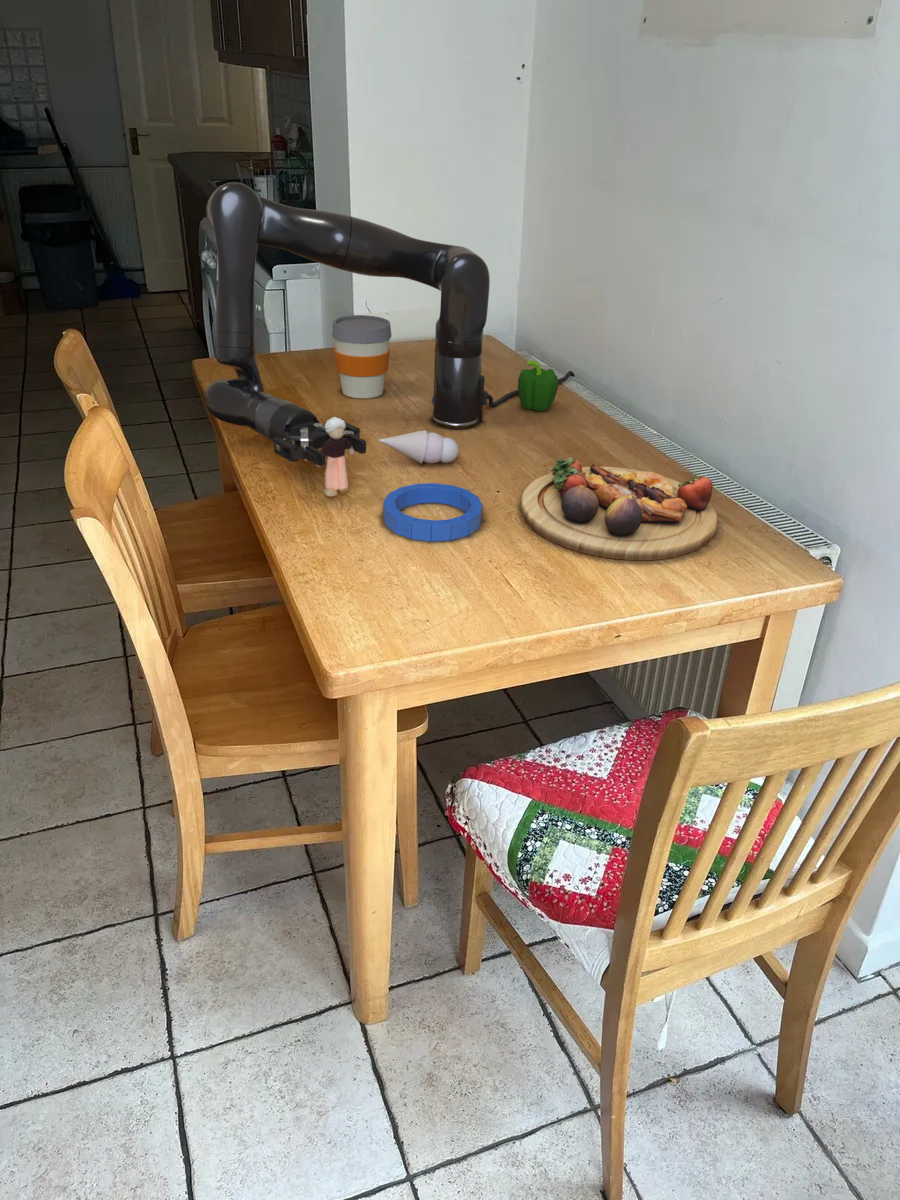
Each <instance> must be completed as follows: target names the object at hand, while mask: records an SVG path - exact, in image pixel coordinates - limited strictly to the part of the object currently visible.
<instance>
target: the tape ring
mask: <svg viewBox="0 0 900 1200" xmlns="http://www.w3.org/2000/svg"><path fill="white" fill-rule="evenodd" d="M419 504H440V505H448V506H451V507H454V508H457V509H459V510H461V511H462V512H464V513H463V514H461V515H459V516H455V517H452V518H448V519H425V518H418V517H414V516H411V515H408V514H405V513H404V512H402V510H403V509H405V508H407V507H410V506H413V505H414V506H415V505H419ZM382 505H383V506H382V510H383V511H382V512H383V513H382V516H383V521H384V525H385V527H387V528H388V529H389V530H391V531H392V532H393V533H394V534H396V535H399V536H401V537H404V538H407V539H409V540H416V541H422V542H433V543H434V542H450V541H454V540H455V541H456V540H459V539H462V538H465V537H469V536H470V535H472V534H473V533H475V532H476V531H478V530H479V529H480V526H481V524H482V521H483V507H484V506H483V502H482V501H481V499H480V497H479V496H478V495H476V494H475V493H474V492H472V491H470V490H469V489H466V488H463V487H459V486H456V485H453V484H445V483H437V482H429V483H428V482H426V483H413V484H410V485H403V486H400V487H397V489H394V490H393V491H391V492H389V493H387V495H386V497H385V498H384V499H383V502H382Z"/></svg>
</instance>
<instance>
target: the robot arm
mask: <svg viewBox="0 0 900 1200" xmlns="http://www.w3.org/2000/svg"><path fill="white" fill-rule="evenodd" d="M205 210H206V211H205V214H206V219H207V221H208V224H209V226H210V228H211V229H212V231H213V234H214V240H215V246H216V254H217V286H216V287H217V289H216V299H215V311H214V345H215V346H214V351H215V352H214V355H215V360H216V361H217V362H218V363H219V364H221V365H224V366H227V367H232V368H234V370H235V372H236V375H237V378H234V379H233V378H232V379H231V378H229V379H228V378H227V379H226V378H224V379H221V378H220V379H216V380H214V381H213V382H211V383H210V384H209V385H208V386H207V388H206V390H205V393H204V402H205V406H206V408H207V410H208V411H209V413H210V414H211V415H212V416H213V417H214V418H216V419H217V420H219V421H222V422H225V423H228V424H231V425H235V426H239V427H244V428H248V429H250V430H252V431H254V432H256V433H257V434H260V435H261V436H263V437H264V438H265V439H267V440H268V441H269V442H272V443H273V453H275V454H276V455H278V456H280V457H281V458H283V459H285V460H287V461H289V462H290V463H297V462H298V460H301V461H303V462H307V461H308V462H310V463H312V464H314V465H316V464H317V465H319V466H321V467H324V466H326V457H325V454H324V452H322V451H321V449H322V447H323V446H324V444H325V442H326V441H327V440H328V439H329V438H331V437H330V436H329V434H328V432H326V428H325V424H326V423H321V422H320V421H319V420H318V417H316V414H314V413H313V412H311V411H309V410H308V409H306V408H303V407H301V406H300V405H297V404H295V403H292V402H291V401H289V400H286V399H282V398H279V397H277V396H274V395H273V394H271V393H268V392H265V390H264V386H263V382H262V378H261V375H260V371H259V366H258V362H257V357H256V300H255V279H256V276H255V275H256V262H257V253H258V246H259V245H260V246H265V247H272V248H275V249H276V248H277V249H281V250H283V251H287V252H290V253H293V254H295V255H298V256H300V257H303V258H305V259H308V260H310V261H312V262H316V263H319V264H321V265H323V266H328V267H331V268H334V269H337V270H342V271H345V272H349V273H353V274H357V275H362V276H368V277H375V278H376V277H379V278H402V279H407V280H411V281H414V282H418V283H421V284H423V285H426V286H428V287H431V288H434V289H436V290H438V291H439V292H440V308H439V318H438V319H437V320H436V322H435V337H434V339H435V340H434V368H433V369H434V370H433V371H434V373H433V396H431V406H432V405H433V409H432V422H433V423H434V424H435V425H437V426H439V427H442V428H447V429H456V430H457V429H459V430H460V429H469V428H472V427H475V426H476V425H478V424H479V423H482V422H483V415H484V413H483V412H484V406H487V404H488V405H489V407H491V408H495V407H498V406H499V405H500V404H502V403H505V401H507V400H508V399H510V398H512V397H515V396H517V395H519V393H518V389H516V390H513V391H511V392H508V393H506V394H504V395H503V396H502V397H500V398H499V399H498V400H497V401H494V398H493V396H492V395H491V394H490V393H488V391H487V390H485V379H486V378H485V376H484V374H482V355H483V339H484V329H485V326H486V324H487V318H488V310H489V301H490V300H489V298H490V285H491V284H490V282H491V281H490V278H491V277H490V271H489V268H488V265H487V263H486V262H485V261H484V259H483V258H482V257H481V256H480V255H478V254H477V253H475V252H474V251H472V250H471V249H470V248H467V247H465V246H461V245H454V244H448V243H441V242H440V243H439V242H434V241H428V240H423V239H418V238H415V237H412V236H409V235H407V234H404V233H402V232H399V231H397V230H395V229H392V228H389V227H387V226H383V225H381V224H377V223H375V222H371V221H369V220H366V219H362V218H358V217H355V216H351V215H348V214H344V213H339V212H334V211H328V210H327V211H326V210H319V209H309V208H302V207H301V208H300V207H293V206H290V205H286V204H284V203H283V204H282V203H280V202H276V201H274V200H271V199H268V198H266V197H263V196H260V195H258V194H257V193H256V192H255V190H253V188H251V187H250V186H248V185H246V184H244V183H242V182H235V181H232V182H231V181H230V182H227V183H224V184H222V185H220V186H218V187H217V188H216V189H215V190H213V192H212V193H211V195H210V196H209V198H208V200H207V203H206V207H205ZM570 377H572V378H574V377H576V375H575V373H574V372H573V370H569V371H567V372H566V374H565V375H564V376H563V377H560V378H558V384H562V383H563V382H566V381H568V379H569V378H570ZM344 422H345V424H346V427H345V429H344V434H343V436H342V437H345V438H347V439H349V440H350V442H351V443H352V447H353V449H354V451H355V453H358V454H360V455H363V454H366V453H367V441H366V440H365V439H363V438H361V433H360V432H361V428H359V427H357V426H356V425H353V424H351V423H349V422H347V421H344Z"/></svg>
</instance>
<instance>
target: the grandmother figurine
mask: <svg viewBox="0 0 900 1200" xmlns="http://www.w3.org/2000/svg"><path fill="white" fill-rule="evenodd" d="M345 422H346V421H345V420H343V419H342V418H340V417H337V416H333V417H331V418H329V419H328V420H326V422H325V423H324V424H325V428H326V432H328V434H329V436H330V437H331V438H329V439H328V440H327V441H326V442H325V444H324V446H323V447H322V448H320V451H322V452H324V454H325V458H326V464H325V472H324V489H323V493H324V495H326V496H327V497H335V496H338V492H340V493H344V492H348V491H349V490H350V489H349V482H348V481H349V480H348V473H347V465H346V450H347V453H348V454H349V455H351V456H352V455H354V454H355V453H356V451H354V449H353V447H352V443H351V442H350V440H349V439H347V438H345V437H342V436H343V434H344V429H345V427H346V424H345ZM315 466H316V467H317V468H321V467H322V466H319V465H317V464H315Z"/></svg>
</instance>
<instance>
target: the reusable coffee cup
mask: <svg viewBox="0 0 900 1200" xmlns="http://www.w3.org/2000/svg"><path fill="white" fill-rule="evenodd" d="M331 335H332V338H333V339H334V341H333V342H334V347H333V353H334V359H335V360H334V361H335V366H336V371H337V372H338V373H339V379H340V387H341V392H342V394H343V395H344V396H346V397H349V398H353V399H373V398H376V397H380V396H381V395H383V394H384V388H385V381H386V380H385V379H386V373H387V372H388V370H389V364H390V355H391V348H390V341H391V339H392V327H391V321H390V320H389V319H387V318H384V317H380V316H376V315H364V314H355V315H346V316H341V317H340V316H339V317H338V318H336V319H334V320H333V321H332V333H331Z"/></svg>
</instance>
